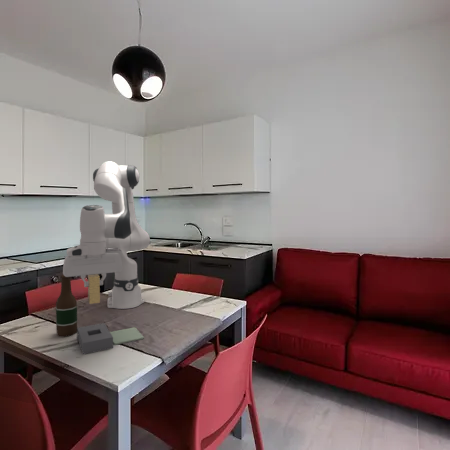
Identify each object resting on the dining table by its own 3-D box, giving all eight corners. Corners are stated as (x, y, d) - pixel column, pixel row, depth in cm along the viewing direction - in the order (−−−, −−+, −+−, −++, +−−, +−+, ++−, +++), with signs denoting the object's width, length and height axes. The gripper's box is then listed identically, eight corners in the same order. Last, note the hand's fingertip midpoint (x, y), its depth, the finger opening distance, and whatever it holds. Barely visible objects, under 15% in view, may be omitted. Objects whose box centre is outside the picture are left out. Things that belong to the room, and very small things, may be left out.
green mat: (107, 333, 126) (107, 332, 126) (135, 328, 132) (135, 327, 132) (114, 345, 116) (114, 343, 116) (143, 338, 122) (143, 337, 122)
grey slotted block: (77, 337, 122) (77, 327, 122) (104, 332, 128) (104, 323, 127) (83, 354, 109) (82, 343, 109) (113, 347, 114) (112, 337, 114)
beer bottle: (63, 338, 121) (62, 277, 120) (52, 334, 126) (50, 275, 124) (81, 332, 128) (80, 273, 127) (70, 328, 132) (69, 271, 131)
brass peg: (88, 301, 118) (87, 275, 117) (98, 300, 120) (97, 274, 119) (89, 304, 115) (89, 277, 114) (99, 302, 117) (99, 276, 116)
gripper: (120, 246, 124) (120, 280, 125) (62, 249, 114) (62, 287, 114) (124, 248, 119) (124, 284, 120) (63, 252, 108) (64, 291, 109)
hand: (93, 285), depth 117 cm, fingers closed on brass peg, 3 cm apart
